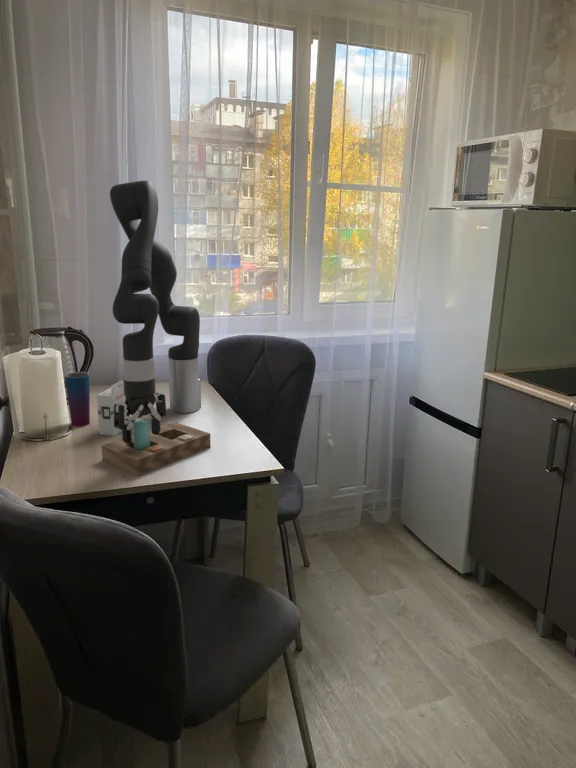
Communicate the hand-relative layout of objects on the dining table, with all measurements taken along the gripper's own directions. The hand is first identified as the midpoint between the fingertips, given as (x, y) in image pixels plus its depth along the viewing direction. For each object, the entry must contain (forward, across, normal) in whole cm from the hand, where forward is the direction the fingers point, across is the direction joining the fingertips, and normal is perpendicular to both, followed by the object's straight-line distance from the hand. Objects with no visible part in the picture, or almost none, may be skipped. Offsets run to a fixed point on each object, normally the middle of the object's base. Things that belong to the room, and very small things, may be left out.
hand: (141, 438), depth 145 cm
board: (+6, -5, 0) cm, 8 cm away
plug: (+6, 0, 0) cm, 6 cm away
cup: (+6, -5, -35) cm, 36 cm away
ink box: (+6, -8, -23) cm, 25 cm away
